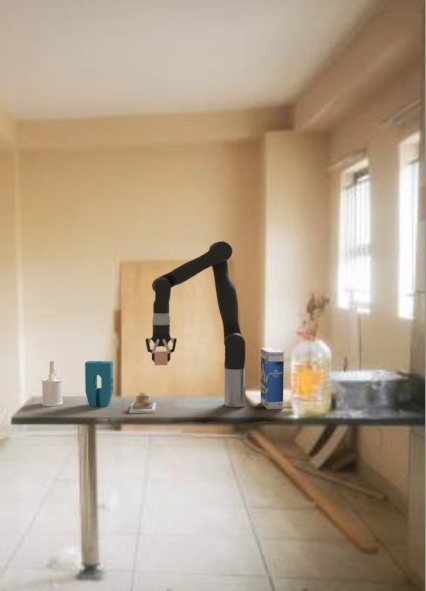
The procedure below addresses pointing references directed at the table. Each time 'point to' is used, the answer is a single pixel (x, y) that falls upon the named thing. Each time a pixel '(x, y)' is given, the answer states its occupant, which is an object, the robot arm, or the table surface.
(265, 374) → the string lights box
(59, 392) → the white nozzle bottle
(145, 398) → the maple block
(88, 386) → the block
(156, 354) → the terracotta block
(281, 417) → the table surface
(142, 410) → the blueprint baseplate
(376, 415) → the table surface
